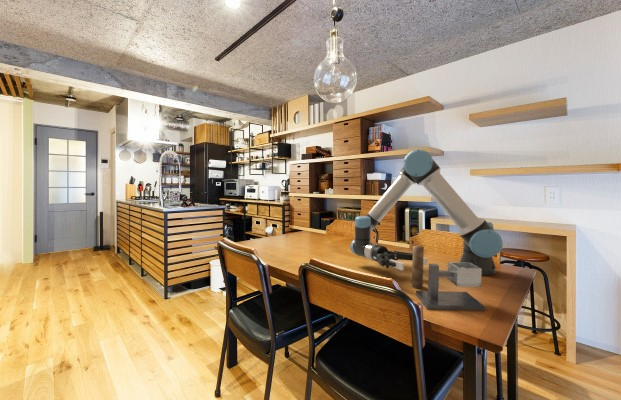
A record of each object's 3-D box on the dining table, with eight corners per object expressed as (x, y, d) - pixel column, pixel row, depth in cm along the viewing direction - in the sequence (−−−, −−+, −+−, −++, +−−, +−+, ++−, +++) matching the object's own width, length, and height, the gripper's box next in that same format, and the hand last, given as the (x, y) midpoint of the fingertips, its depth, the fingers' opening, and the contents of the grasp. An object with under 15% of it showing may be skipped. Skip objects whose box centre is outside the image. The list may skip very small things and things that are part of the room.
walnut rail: (420, 285, 114) (421, 245, 113) (424, 288, 110) (425, 248, 109) (410, 284, 114) (411, 245, 113) (413, 288, 110) (414, 247, 109)
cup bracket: (466, 295, 103) (467, 260, 102) (484, 310, 91) (486, 271, 90) (415, 294, 104) (416, 259, 103) (426, 309, 92) (427, 269, 91)
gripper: (395, 257, 136) (434, 268, 118) (355, 264, 124) (392, 279, 106) (396, 241, 136) (435, 250, 118) (355, 248, 123) (392, 259, 105)
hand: (415, 264), depth 112 cm, fingers open, 13 cm apart
